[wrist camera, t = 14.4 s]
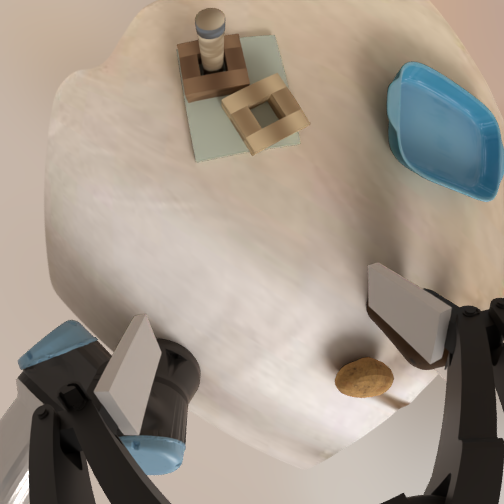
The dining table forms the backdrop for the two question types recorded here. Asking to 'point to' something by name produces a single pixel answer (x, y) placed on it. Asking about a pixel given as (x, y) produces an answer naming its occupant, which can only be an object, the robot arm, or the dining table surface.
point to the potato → (364, 378)
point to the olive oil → (405, 344)
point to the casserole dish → (444, 132)
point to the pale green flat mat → (210, 110)
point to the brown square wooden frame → (216, 82)
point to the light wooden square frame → (281, 104)
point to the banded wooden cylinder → (211, 39)
